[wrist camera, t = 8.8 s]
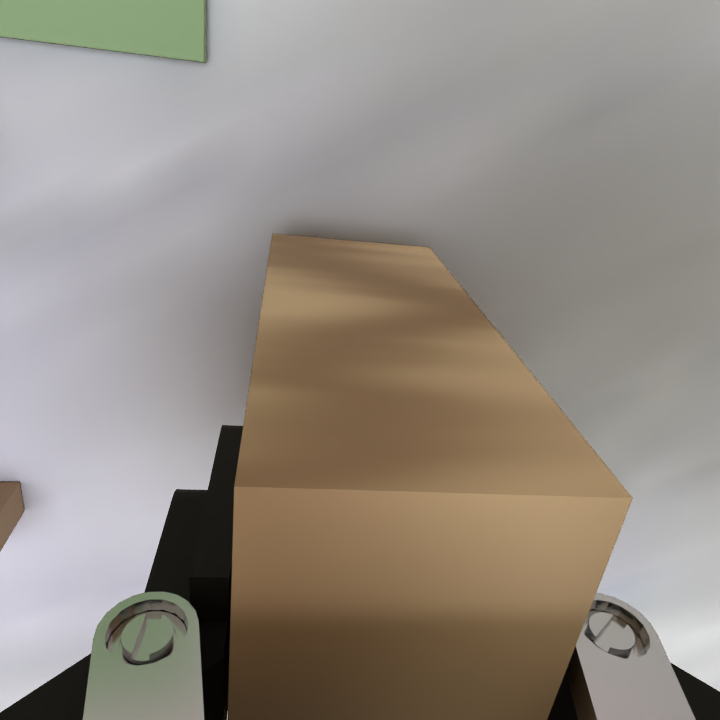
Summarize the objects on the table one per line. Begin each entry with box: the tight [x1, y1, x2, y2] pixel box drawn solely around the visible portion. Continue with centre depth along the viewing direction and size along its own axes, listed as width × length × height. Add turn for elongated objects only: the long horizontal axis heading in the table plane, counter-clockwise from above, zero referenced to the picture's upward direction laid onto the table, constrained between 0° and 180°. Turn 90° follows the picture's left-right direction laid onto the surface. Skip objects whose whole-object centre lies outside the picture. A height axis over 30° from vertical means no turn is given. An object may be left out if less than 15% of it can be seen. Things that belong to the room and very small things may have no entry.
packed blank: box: [228, 233, 633, 720], centre depth 12 cm, size 4×8×10 cm, turn 173°
